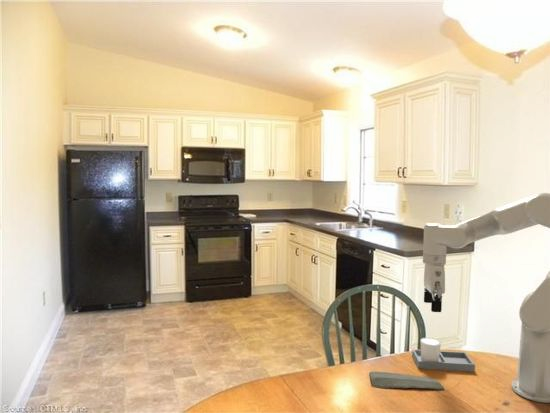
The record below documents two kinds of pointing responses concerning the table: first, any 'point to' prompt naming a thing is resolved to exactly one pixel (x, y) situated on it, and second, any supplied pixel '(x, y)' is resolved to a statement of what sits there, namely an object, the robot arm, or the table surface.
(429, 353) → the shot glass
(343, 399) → the table surface
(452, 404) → the table surface
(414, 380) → the stone slab
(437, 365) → the tray
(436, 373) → the table surface
